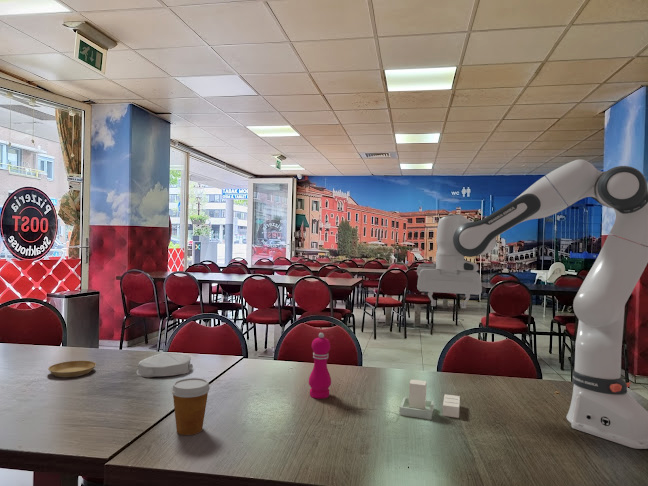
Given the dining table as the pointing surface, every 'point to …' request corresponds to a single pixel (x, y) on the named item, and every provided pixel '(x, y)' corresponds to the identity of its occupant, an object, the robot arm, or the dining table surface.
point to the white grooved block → (451, 405)
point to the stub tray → (416, 412)
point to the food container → (165, 365)
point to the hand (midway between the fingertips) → (448, 306)
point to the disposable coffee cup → (190, 404)
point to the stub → (417, 394)
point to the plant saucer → (72, 368)
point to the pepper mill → (320, 368)
